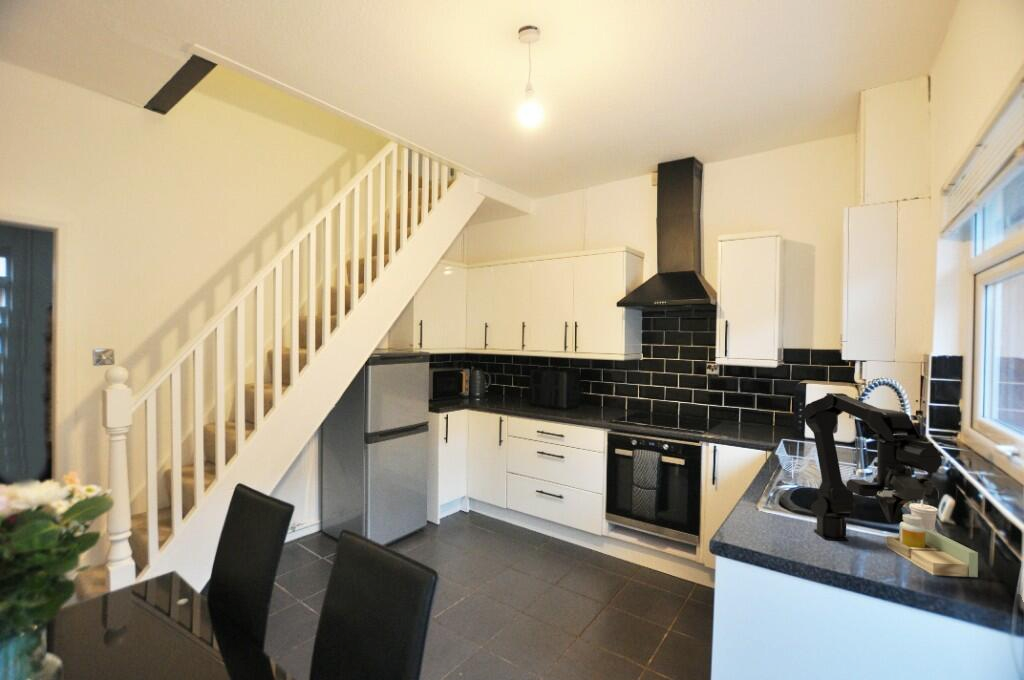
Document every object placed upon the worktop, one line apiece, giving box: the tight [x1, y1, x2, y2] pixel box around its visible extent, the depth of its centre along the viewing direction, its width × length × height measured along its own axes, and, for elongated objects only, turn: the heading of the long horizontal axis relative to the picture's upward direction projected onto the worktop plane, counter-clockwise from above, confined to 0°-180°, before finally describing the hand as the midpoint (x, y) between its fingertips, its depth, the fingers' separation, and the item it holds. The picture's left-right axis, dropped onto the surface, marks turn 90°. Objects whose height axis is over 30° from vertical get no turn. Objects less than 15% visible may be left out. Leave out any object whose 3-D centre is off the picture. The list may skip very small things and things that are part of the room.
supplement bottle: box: [898, 513, 925, 548], centre depth 128 cm, size 5×5×10 cm
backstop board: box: [925, 530, 979, 578], centre depth 122 cm, size 2×14×6 cm, turn 175°
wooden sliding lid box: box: [886, 535, 969, 578], centre depth 124 cm, size 8×16×3 cm, turn 176°
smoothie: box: [909, 499, 939, 531], centre depth 137 cm, size 6×6×14 cm
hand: (891, 522), depth 119 cm, fingers closed
